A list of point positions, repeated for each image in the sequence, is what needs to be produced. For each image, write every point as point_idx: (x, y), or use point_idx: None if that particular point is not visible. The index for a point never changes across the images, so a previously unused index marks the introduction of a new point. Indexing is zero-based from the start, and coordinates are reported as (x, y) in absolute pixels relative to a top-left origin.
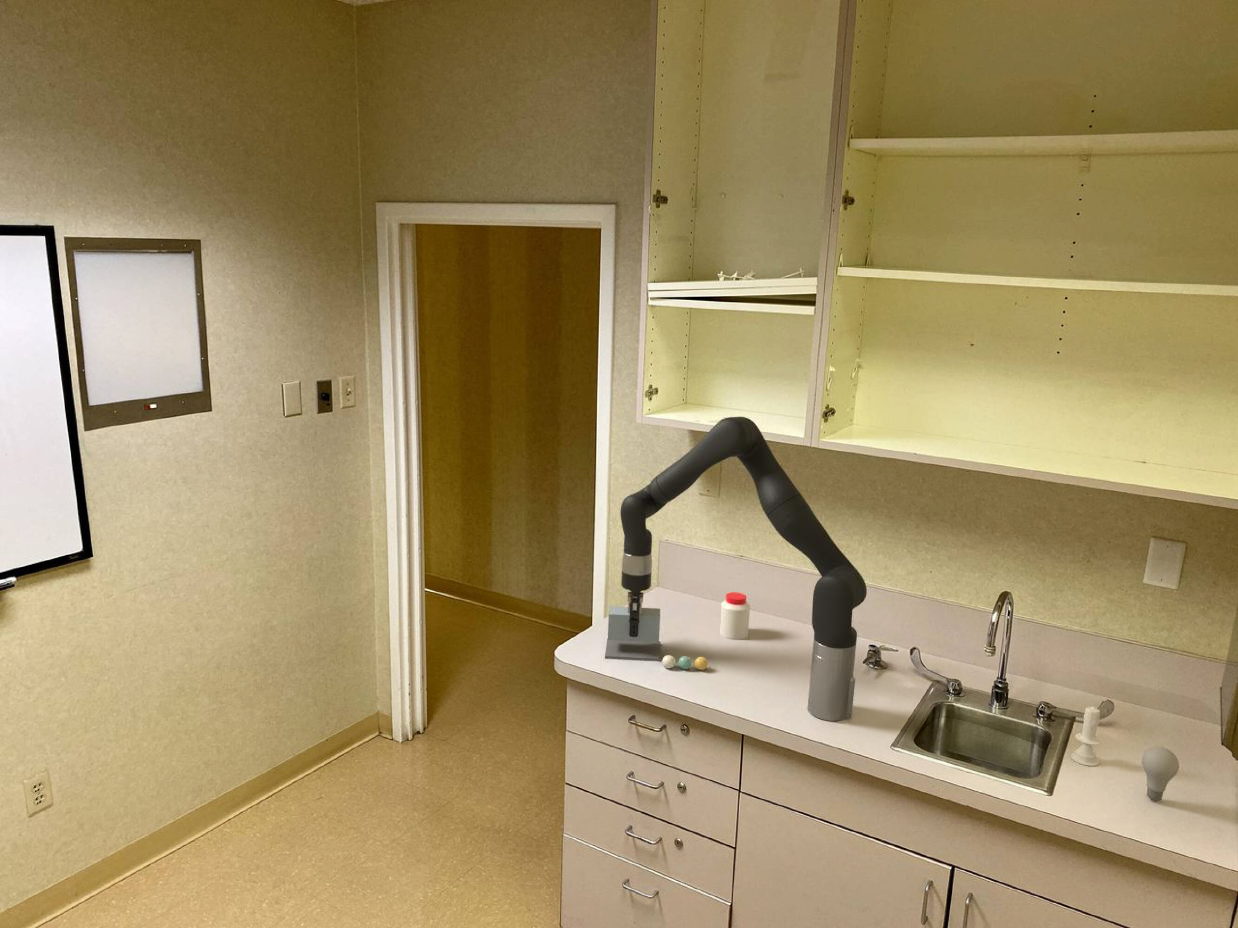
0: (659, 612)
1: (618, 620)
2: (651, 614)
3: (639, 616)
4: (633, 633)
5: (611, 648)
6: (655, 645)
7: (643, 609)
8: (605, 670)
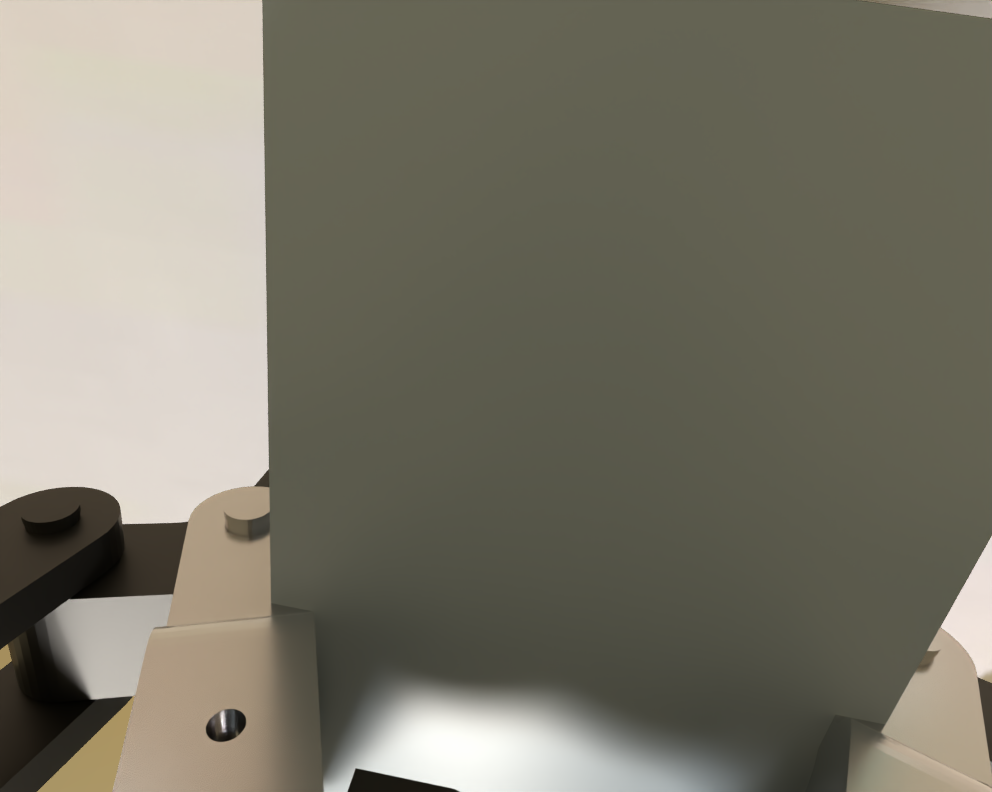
0: (706, 15)
1: None
2: (874, 384)
3: (884, 702)
4: None
5: None
6: None
7: (403, 539)
8: (969, 647)
